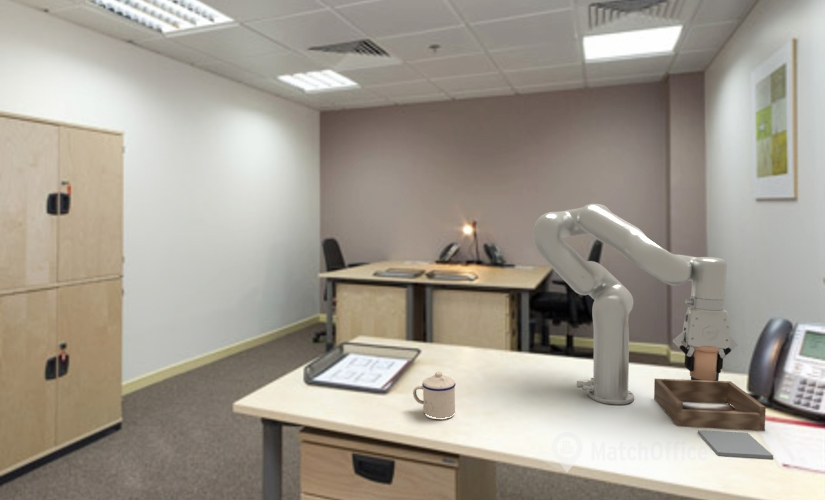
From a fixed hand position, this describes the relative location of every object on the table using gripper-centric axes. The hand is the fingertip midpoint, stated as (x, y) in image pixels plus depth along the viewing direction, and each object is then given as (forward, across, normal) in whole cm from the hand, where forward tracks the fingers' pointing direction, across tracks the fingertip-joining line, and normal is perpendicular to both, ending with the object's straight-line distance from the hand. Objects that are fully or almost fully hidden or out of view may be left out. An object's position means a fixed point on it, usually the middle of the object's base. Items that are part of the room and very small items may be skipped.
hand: (703, 369), depth 128 cm
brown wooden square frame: (+12, +1, 0) cm, 12 cm away
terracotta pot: (+2, 0, 0) cm, 2 cm away
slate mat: (+12, 0, -18) cm, 22 cm away
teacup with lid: (+14, -71, -9) cm, 73 cm away
